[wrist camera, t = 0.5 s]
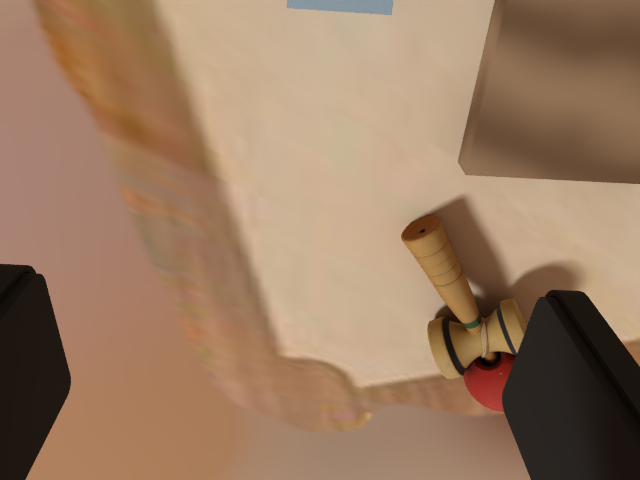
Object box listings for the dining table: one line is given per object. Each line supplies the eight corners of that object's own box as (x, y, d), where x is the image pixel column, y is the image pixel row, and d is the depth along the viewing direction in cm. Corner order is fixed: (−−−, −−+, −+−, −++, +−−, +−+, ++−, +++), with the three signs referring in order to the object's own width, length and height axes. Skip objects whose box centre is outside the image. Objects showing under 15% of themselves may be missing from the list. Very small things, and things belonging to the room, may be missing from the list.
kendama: (360, 239, 39) (459, 397, 46) (376, 274, 33) (488, 449, 40) (448, 185, 38) (537, 354, 45) (482, 211, 32) (579, 401, 39)
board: (538, -187, 24) (555, -194, 23) (817, -162, 25) (854, -167, 23) (457, 161, 34) (465, 174, 32) (660, 172, 35) (678, 185, 33)
